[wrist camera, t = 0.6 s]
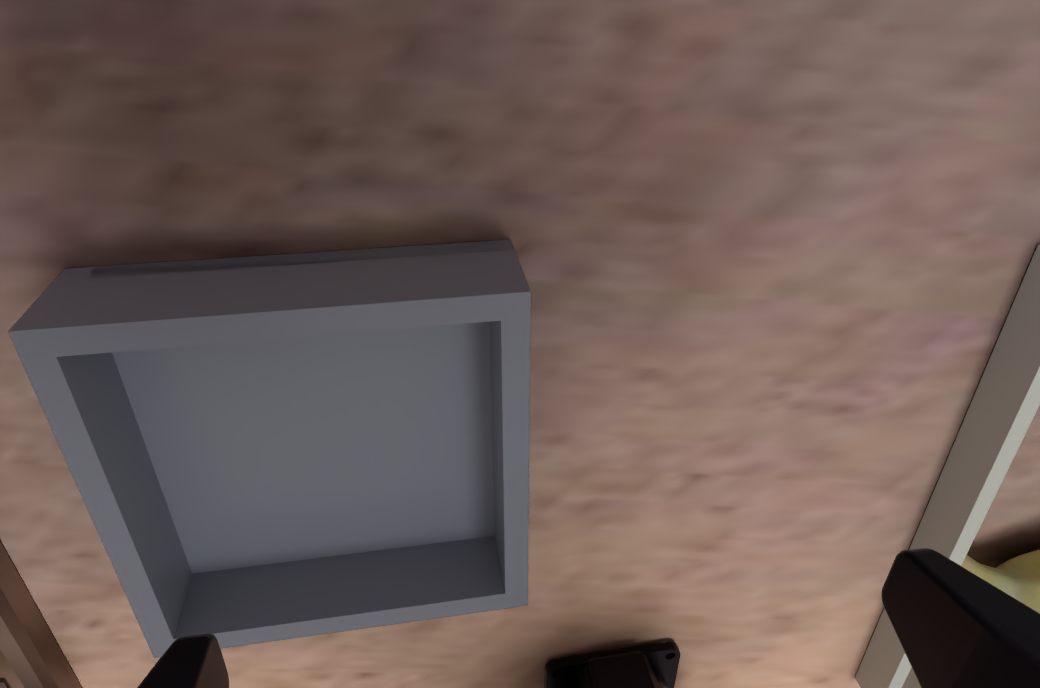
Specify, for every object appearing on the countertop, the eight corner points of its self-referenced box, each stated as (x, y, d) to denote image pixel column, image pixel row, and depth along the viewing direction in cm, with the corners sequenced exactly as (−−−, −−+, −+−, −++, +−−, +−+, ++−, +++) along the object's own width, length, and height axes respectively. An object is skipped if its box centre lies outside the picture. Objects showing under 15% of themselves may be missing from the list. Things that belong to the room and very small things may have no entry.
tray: (512, 532, 28) (527, 605, 25) (179, 573, 26) (154, 658, 23) (510, 239, 21) (530, 291, 18) (64, 268, 19) (7, 331, 17)
